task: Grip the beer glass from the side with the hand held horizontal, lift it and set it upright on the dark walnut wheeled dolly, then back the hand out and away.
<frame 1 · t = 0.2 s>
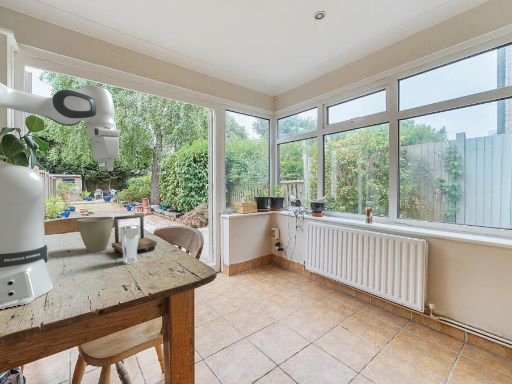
hand: (106, 170, 86), 39 cm above the table, tool pointing down, fingers open, 8 cm apart
plant pot: (97, 250, 115), on the table
dolly: (134, 251, 113), on the table
beer glass: (130, 262, 99), on the table
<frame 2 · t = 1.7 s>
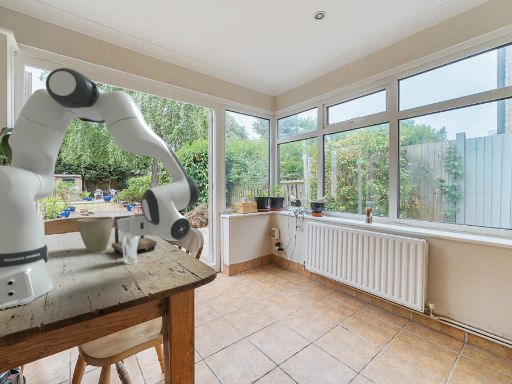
hand: (141, 218, 90), 20 cm above the table, tool horizontal, fingers open, 8 cm apart
nothing on the table moved.
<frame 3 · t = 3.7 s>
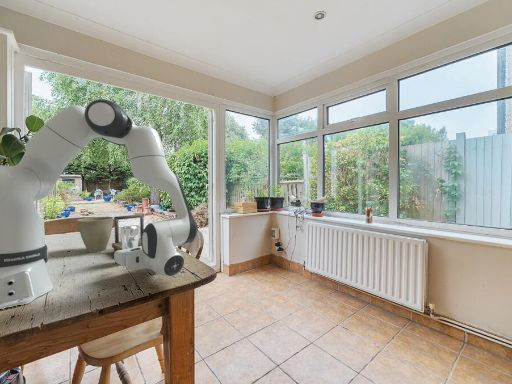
hand: (137, 247, 93), 8 cm above the table, tool horizontal, fingers open, 8 cm apart
nothing on the table moved.
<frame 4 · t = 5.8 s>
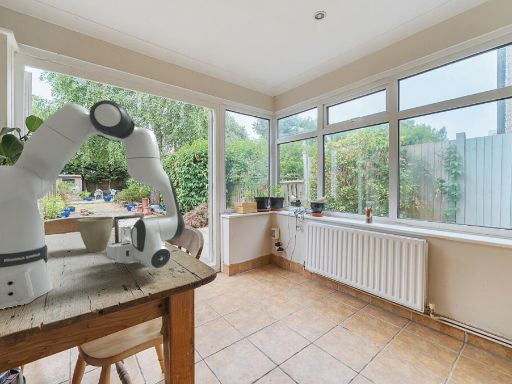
hand: (129, 243, 99), 8 cm above the table, tool horizontal, fingers closed on beer glass, 7 cm apart
beer glass: (130, 262, 99), on the table, touching gripper
everything else where it was.
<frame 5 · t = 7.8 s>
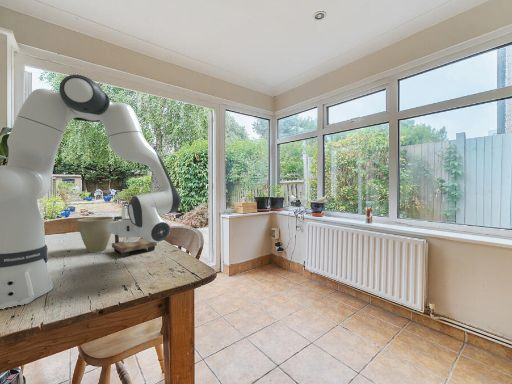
hand: (130, 222, 100), 17 cm above the table, tool horizontal, fingers closed on beer glass, 7 cm apart
beer glass: (131, 241, 100), point 8 cm above the table, touching gripper
everything else where it was.
when the fingers open (14 cm above the table, at t = 10.0 s): beer glass drops 1 cm, resting on dolly.
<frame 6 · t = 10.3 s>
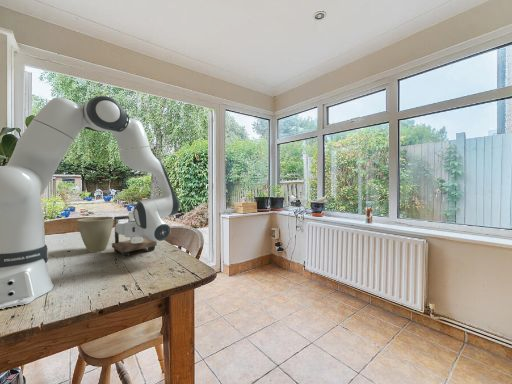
hand: (134, 223, 113), 14 cm above the table, tool horizontal, fingers open, 8 cm apart
beer glass: (136, 242, 113), point 4 cm above the table, touching dolly
everything else where it was.
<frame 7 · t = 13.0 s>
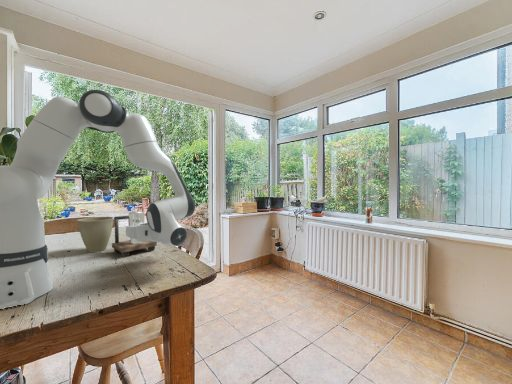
hand: (145, 225, 104), 14 cm above the table, tool horizontal, fingers open, 8 cm apart
nothing on the table moved.
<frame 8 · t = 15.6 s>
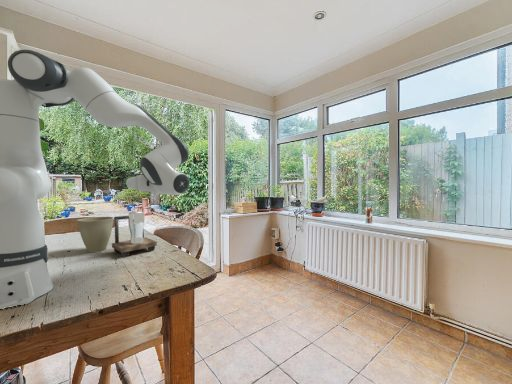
hand: (146, 183, 102), 34 cm above the table, tool horizontal, fingers open, 8 cm apart
nothing on the table moved.
at the end: beer glass inside the target area on the dolly (1.3 cm from its centre), point 4.3 cm above the dolly's base; beer glass tilted 0°; the gripper is holding nothing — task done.
